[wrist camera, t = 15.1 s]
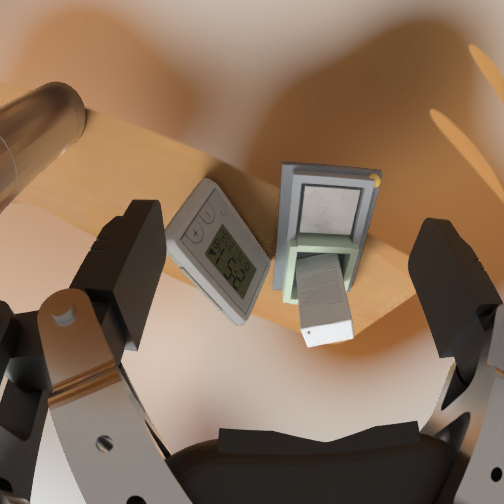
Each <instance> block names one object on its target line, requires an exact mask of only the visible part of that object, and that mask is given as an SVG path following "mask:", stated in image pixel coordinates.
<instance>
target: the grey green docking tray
mask: <svg viewBox="0 0 504 504" xmlns="http://www.w3.org/2000/svg"><path fill="white" fill-rule="evenodd" d="M381 177H382V171H381V170H376V169H367V168H358V167H347V166H335V165H324V164H310V163H294V162H282V173H281V188H280V202H279V215H278V228H277V241H276V253H275V266H274V277H273V290H283V303H290V304H299V302H298V291H297V279H296V268H295V264H296V259H301V258H305V257H310V256H314V255H319V254H323V253H337V255H338V259H339V263H340V267H341V272H342V276H343V281H344V285H345V289H346V293H347V292H350V290H351V287H352V283H353V280H354V277H355V274H356V271H357V267H358V264H359V261H360V257H361V254H362V250H363V247H364V243H365V240H366V236H367V233H368V229H369V225H370V221H371V218H372V214H373V210H374V206H375V202H376V198H377V194H378V190H379V186H380V183H381ZM305 183H310V184H325V185H338V186H350V187H359V189H360V194H359V199H358V203H357V208H356V212H355V216H354V221H353V225H352V229H351V233H350V235H342V234H323V233H302V232H300V231H299V226H300V218H301V210H302V201H303V193H304V184H305Z"/></svg>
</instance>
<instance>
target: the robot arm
mask: <svg viewBox="0 0 504 504" xmlns="http://www.w3.org/2000/svg"><path fill="white" fill-rule="evenodd" d="M85 121H86V114H85V108H84V104H83V102H82V100H81V97H80V96H79V95H78V93H77V92H76V91H75V90H74V89H73V88H72V87H71V86H69V85H67V84H65V83H61V82H51V83H47V84H45V85H43V86H41V87H39V88H36V89H35V90H32V91H30V92H28V93H26V94H24V95H22V96H20V97H18V98H16V99H14V100H12V101H11V102H9V103H7V104H5V105H3V106H2V107H0V214H1V212H2V211H3V210H4V209H5V208H6V207H7V206H8V205H9V204H10V203H11V202H12V201H13V200H14V199H15V197H16V196H17V195H18V194H19V193H20V192H21V191H22V190H23V189H24V188H25V187H26V186H27V185H28V184H29V183H31V182H32V181H33V180H34V179H35V178H36V177H37V176H38V175H39V174H40V173H41V172H42V171H43V170H44V169H45V168H46V167H48V166H49V165H50V164H51V163H52V162H53V161H54V160H55V159H57V158H58V157H59V156H60V155H61V154H62V153H64V152H65V151H66V150H67V149H68V148H69V147H71V146H72V145H73V144H74V143H75V142H76V141H77V140H78V139H79V138H80V136H81V135H82V133H83V130H84V127H85ZM166 252H167V245H166V237H165V231H164V224H163V218H162V211H161V205H160V202H159V201H158V200H132V202H131V203H130V205H129V206H128V208H127V210H126V212H125V213H124V215H123V216H116V217H115V218H113V219H112V220H111V221H110V222H109V223H107V224H106V225H105V226H104V227H103V228H102V230H101V232H100V233H99V235H98V237H97V240H96V241H95V242H94V244H93V245H92V247H91V251H89V252H88V254H87V256H86V257H85V259H84V261H83V263H82V264H81V266H80V268H79V270H78V272H77V274H76V276H75V277H74V279H73V281H72V283H71V285H70V287H69V289H63V290H60V291H58V292H55V293H53V294H52V295H50V296H49V297H48V298H47V299H46V300H45V301H44V302H43V304H42V305H41V307H40V309H39V310H38V311H32V312H26V313H19V314H14V313H13V311H12V310H11V308H10V307H9V305H8V304H7V303H6V302H4V301H1V300H0V385H1V381H2V379H3V376H4V375H5V376H6V377H7V378H8V381H7V384H6V387H5V390H4V393H3V396H2V399H1V402H0V504H30V497H31V490H32V483H33V477H34V471H35V466H36V461H37V456H38V450H39V445H40V441H41V437H42V432H43V428H44V423H45V419H46V415H47V412H48V408H49V409H50V413H51V416H52V419H53V422H54V425H55V428H56V431H57V434H58V437H59V440H60V443H61V445H62V448H63V450H64V453H65V456H66V458H67V461H68V463H69V466H70V468H71V471H72V473H73V475H74V478H75V480H76V482H77V484H78V486H79V489H80V491H81V493H82V495H83V497H84V499H85V501H86V503H87V504H504V304H503V302H502V300H501V298H500V296H499V294H498V293H497V290H496V289H495V287H494V285H493V283H492V281H491V280H490V278H489V276H488V274H487V273H486V271H484V267H483V266H482V264H481V262H480V261H478V257H477V256H476V255H475V253H474V251H473V249H472V248H471V247H470V246H469V245H468V244H467V243H466V242H465V241H464V240H463V239H462V238H461V237H460V236H459V234H458V233H457V231H456V229H455V228H454V226H453V225H452V223H451V222H450V221H449V220H445V219H435V218H427V219H425V220H424V222H423V224H422V226H421V229H420V231H419V234H418V236H417V239H416V241H415V244H414V246H413V249H412V251H411V253H410V256H409V261H408V270H409V275H410V277H411V280H412V282H413V285H414V287H415V290H416V292H417V295H418V297H419V300H420V302H421V305H422V308H423V311H424V313H425V316H426V319H427V322H428V324H429V327H430V330H431V333H432V336H433V339H434V342H435V345H436V348H437V351H438V354H439V357H440V358H445V357H454V358H455V362H454V363H453V365H452V366H451V368H450V370H449V373H448V376H447V378H446V381H445V384H444V387H443V389H442V392H441V394H440V397H439V399H438V402H437V404H436V407H435V409H434V411H433V414H432V416H431V417H430V419H429V420H428V422H427V423H426V424H425V426H424V427H423V428H422V429H421V431H420V432H419V428H418V422H417V421H412V422H406V423H398V424H391V425H383V426H375V427H372V428H369V429H367V430H364V431H361V432H358V433H355V434H353V435H350V436H347V437H344V438H341V439H338V440H334V441H331V442H320V441H314V440H310V439H305V438H300V437H296V436H291V435H287V434H283V433H279V432H275V431H259V430H238V429H223V428H220V429H219V438H218V439H214V440H208V441H204V442H201V443H197V444H194V445H192V446H189V447H187V448H184V449H182V450H181V451H178V452H176V453H174V454H173V455H172V454H171V452H170V450H169V449H168V447H167V445H166V444H165V442H164V441H163V439H162V437H161V436H160V434H159V432H158V431H157V429H156V428H155V426H154V424H153V423H152V421H151V419H150V418H149V416H148V414H147V413H146V410H145V409H144V407H143V405H142V403H141V401H140V399H139V397H138V395H137V394H136V391H135V389H134V388H133V385H132V383H131V382H130V380H129V377H128V376H127V373H126V371H125V369H124V367H123V365H122V363H121V358H122V355H123V352H124V349H125V350H132V351H138V348H139V344H140V340H141V337H142V334H143V330H144V327H145V324H146V320H147V317H148V314H149V310H150V307H151V304H152V301H153V297H154V294H155V291H156V288H157V285H158V282H159V278H160V276H161V273H162V270H163V267H164V264H165V260H166ZM53 391H54V392H53Z"/></svg>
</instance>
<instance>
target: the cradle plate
mask: <svg viewBox="0 0 504 504" xmlns="http://www.w3.org/2000/svg"><path fill="white" fill-rule="evenodd" d="M359 194H360V189H359V187H350V186H338V185H325V184H310V183H305V184H304V193H303V201H302V210H301V218H300V226H299V231H300V232H302V233H323V234H342V235H350V233H351V229H352V225H353V221H354V216H355V212H356V208H357V203H358V199H359Z"/></svg>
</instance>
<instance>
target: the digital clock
mask: <svg viewBox="0 0 504 504" xmlns="http://www.w3.org/2000/svg"><path fill="white" fill-rule="evenodd" d="M164 231H165V237H166V245H167V252H166V253H167V254H168V255H169V256H170V258H171V259H172V260H173V261H174V262H175V263H176V264H177V265H178V267H179V269H180V270H181V271H182V272H183V273H184V274H185V275H186V276H187V277H188V278H189V279H190V280H191V282H192V283H193V284H194V285H195V286H196V287H197V288H198V289H199V290H200V291H201V292H202V293H203V294H204V296H206V298H207V299H208V300H209V301H210V302H211V303H212V304H213V305H214V306H215V307H216V308H217V309H218V310H219V311H221V313H222V314H223V315H224V316H225V317H226V318H227V319H228V320H229V321H231V322H232V323H233V324H235V325H238V326H242V325H244V323H245V322H246V321H247V319H248V318H249V316H250V314H251V312H252V309H253V307H254V305H255V302H256V300H257V297H258V295H259V293H260V290H261V288H262V285H263V283H264V281H265V278H266V276H267V273H268V271H269V268H270V264H271V263H270V260H269V258H268V256H267V255H266V253H265V252H264V250H263V249H262V247H261V246H260V244H259V243H258V241H257V240H256V239H255V237H254V236H253V234H252V233H251V231H250V230H249V228H248V227H247V226H246V224H245V223H244V221H243V220H242V218H241V217H240V216H239V214H238V213H237V211H236V210H235V208H234V207H233V205H232V204H231V203H230V201H229V200H228V198H227V197H226V195H225V194H224V193H223V191H222V190H221V189H220V187H219V186H218V185H217V184H216V183H215V182H214V181H212V180H211V179H209V178H205V179H203V180H202V181H200V182H199V183H198V185H197V186H196V187H195V188H194V190H193V191H192V192H191V194H190V195H189V196H188V198H187V199H186V201H185V202H184V203H183V205H182V206H181V207H180V209H179V210H178V211H177V213H176V214H175V216H174V217H173V218H172V220H171V221H170V222H169V224H168V225H167V227H166V228H165V230H164Z"/></svg>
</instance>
